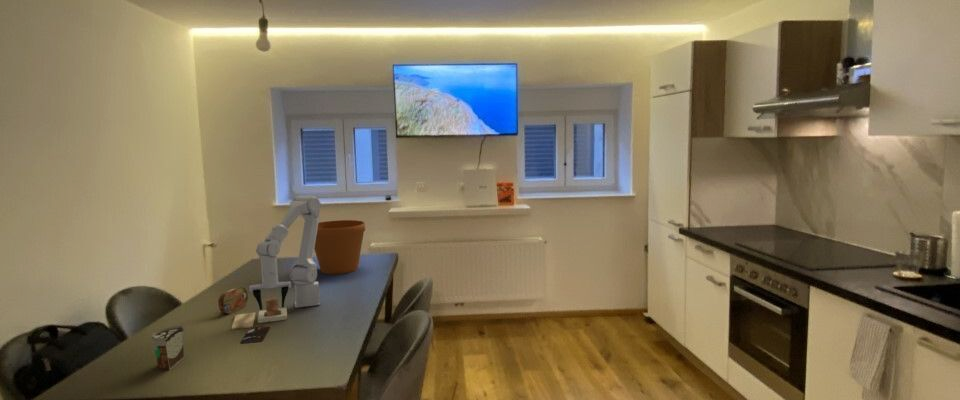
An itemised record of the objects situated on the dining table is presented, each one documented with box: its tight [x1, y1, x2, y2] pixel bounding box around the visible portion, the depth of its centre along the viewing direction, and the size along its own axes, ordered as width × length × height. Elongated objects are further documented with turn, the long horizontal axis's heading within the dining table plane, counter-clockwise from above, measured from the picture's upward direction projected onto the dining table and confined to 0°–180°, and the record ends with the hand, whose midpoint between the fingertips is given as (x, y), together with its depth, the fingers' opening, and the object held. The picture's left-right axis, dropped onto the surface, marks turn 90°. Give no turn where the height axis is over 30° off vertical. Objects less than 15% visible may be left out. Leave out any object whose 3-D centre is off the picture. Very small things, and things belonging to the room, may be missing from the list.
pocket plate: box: [257, 307, 288, 324], centre depth 204 cm, size 10×10×2 cm
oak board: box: [230, 312, 257, 331], centre depth 199 cm, size 7×16×1 cm, turn 19°
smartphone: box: [239, 325, 271, 345], centre depth 185 cm, size 7×1×15 cm
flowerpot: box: [314, 219, 366, 275], centre depth 276 cm, size 28×28×24 cm
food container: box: [150, 324, 185, 371], centre depth 162 cm, size 12×6×10 cm, turn 5°
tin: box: [217, 286, 249, 315], centre depth 213 cm, size 15×3×8 cm, turn 168°
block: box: [265, 297, 280, 316], centre depth 203 cm, size 4×4×7 cm
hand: (272, 307), depth 203 cm, fingers open, 7 cm apart
